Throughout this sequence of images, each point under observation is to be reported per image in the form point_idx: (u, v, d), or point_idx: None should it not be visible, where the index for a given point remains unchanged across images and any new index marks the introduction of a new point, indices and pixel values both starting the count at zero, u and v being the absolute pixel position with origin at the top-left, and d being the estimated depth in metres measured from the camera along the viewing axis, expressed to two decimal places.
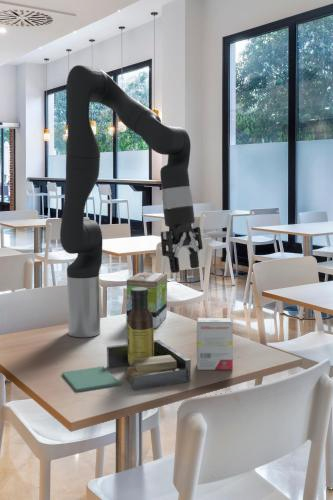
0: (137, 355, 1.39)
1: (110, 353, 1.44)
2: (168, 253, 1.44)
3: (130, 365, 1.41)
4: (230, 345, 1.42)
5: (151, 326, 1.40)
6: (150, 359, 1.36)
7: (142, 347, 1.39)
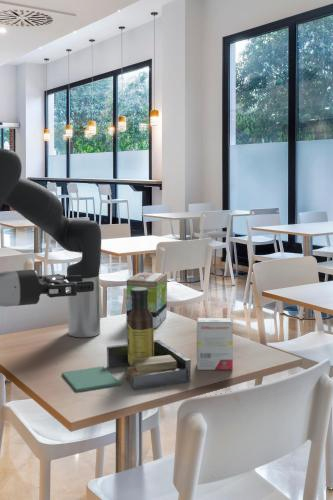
0: (137, 355, 1.39)
1: (110, 353, 1.44)
2: None
3: (130, 365, 1.41)
4: (230, 345, 1.42)
5: (151, 326, 1.40)
6: (150, 359, 1.36)
7: (142, 347, 1.39)
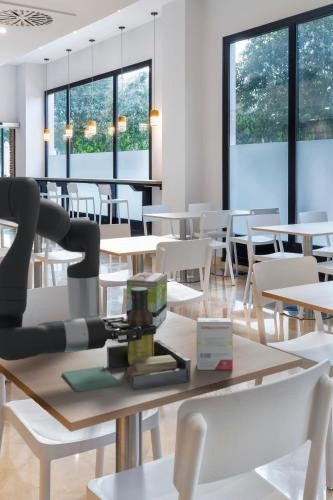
0: (137, 354, 1.39)
1: (110, 353, 1.44)
2: None
3: (130, 365, 1.41)
4: (230, 345, 1.42)
5: None
6: (150, 359, 1.36)
7: (142, 347, 1.39)
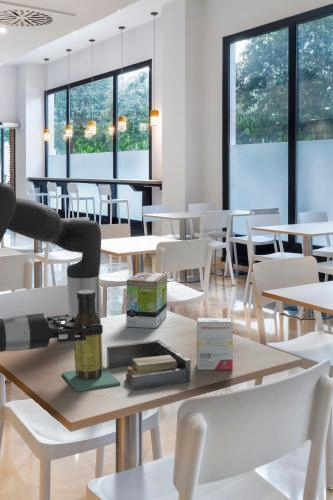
0: (84, 360, 1.33)
1: (110, 353, 1.44)
2: None
3: (77, 371, 1.35)
4: (230, 345, 1.42)
5: None
6: (150, 359, 1.36)
7: (88, 353, 1.33)
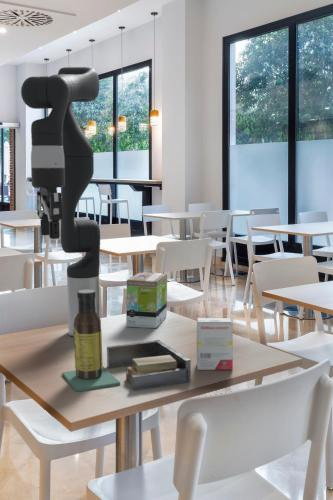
0: (84, 360, 1.33)
1: (110, 353, 1.44)
2: None
3: (77, 371, 1.35)
4: (230, 345, 1.42)
5: (98, 330, 1.34)
6: (150, 359, 1.36)
7: (88, 352, 1.33)
